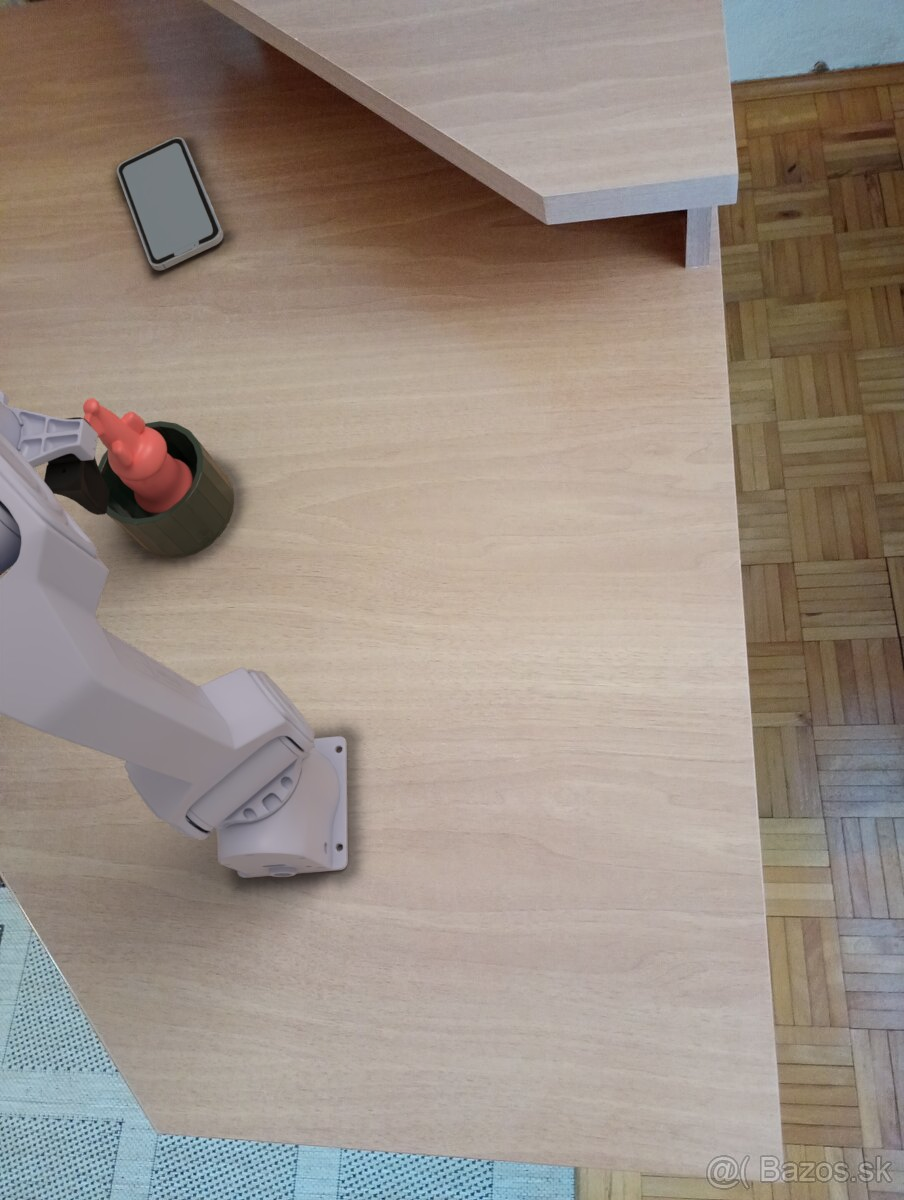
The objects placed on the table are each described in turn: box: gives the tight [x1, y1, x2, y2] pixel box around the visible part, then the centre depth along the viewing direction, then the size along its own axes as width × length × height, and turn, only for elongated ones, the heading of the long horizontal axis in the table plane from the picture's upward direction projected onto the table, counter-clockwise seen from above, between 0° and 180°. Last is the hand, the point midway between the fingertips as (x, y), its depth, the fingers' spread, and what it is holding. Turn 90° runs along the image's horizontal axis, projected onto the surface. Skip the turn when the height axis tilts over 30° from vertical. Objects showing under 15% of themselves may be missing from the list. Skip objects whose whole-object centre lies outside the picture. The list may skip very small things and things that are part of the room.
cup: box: [97, 420, 235, 559], centre depth 86 cm, size 9×9×6 cm
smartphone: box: [116, 136, 224, 271], centre depth 102 cm, size 7×1×15 cm
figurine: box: [82, 397, 193, 515], centre depth 81 cm, size 5×5×15 cm
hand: (55, 507), depth 78 cm, fingers open, 7 cm apart
